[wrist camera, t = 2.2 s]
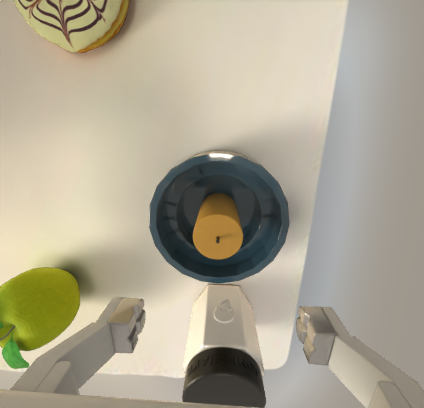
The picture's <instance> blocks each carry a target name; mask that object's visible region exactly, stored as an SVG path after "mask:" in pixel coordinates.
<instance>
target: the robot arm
mask: <svg viewBox="0 0 424 408" xmlns="http://www.w3.org/2000/svg"><path fill="white" fill-rule="evenodd" d="M143 306H144V300H143V299H138V298H125V297H124V298H122V297H114V298H113V299H112V300H111V301H110V303H109V304H108V306H107V307H106V309H105V310H104V311H103V313H102V314H101V316H100V317H99V318H98V320H97V321H96V323H91V324H90V325H88V326H87V327H85V328H83V329H82V330H80V331H79V332H77V333H76V334H74V335H73V336H71V337H69V338H68V339H66V340H65V341H63V342H62V343H60V344H58V345H57V346H55V347H54V348H52V349H51V350H49V351H48V352H46V353H44V354H43V355H41V356H40V357H38V358H37V359H36V360H35V361H34V362H33V364H32V365H31V366H30V367H29V368H28V369H27V371H26V372H25V373H24V374H23V375H22V376H21V378H20V379H19V380H18V381H17V382H16V383H15V385H14V386H13V387H12V388H11V389H10V390H0V408H258V407H243V406H229V405H215V404H201V403H186V402H172V401H158V400H143V399H129V398H115V397H101V396H85V395H80V394H79V391H78V389H79V388H80V387H81V386H82V385H83V384H84V383H85V382H86V381H87V380H89V378H91V377H92V376H93V375H94V374H95V373H96V372H97V371H98V370H99V369H100V368H101V367H102V366H103V365H104V364H105V363H106V362H107V361H108V360H109V359H110V358H111V357H112V356H113V355H114V354H115V353H133V351H134V348H135V346H136V344H137V341H138V336H137V335H138V334H139V333H141V332H142V329H143V327H144V323H145V311H144V310H143ZM298 313H299V315H300V317H299V318H298V319H297V322H296V329H297V334H298V337H299V340H300V341H301V342H302V343H303V344H304V347H303V350H304V353H305V355H306V358H307V360H308V363H309V364H317V365H328V367H329V368H330V370H331V371H332V372H333V373H334V374H335V375H336V376H337V377H338V378H339V379H340V380H341V381H342V383H343V384H344V385H345V386H346V387H347V388H348V389H349V390H350V391H351V392H352V393H353V394H354V395H355V397H357V399H358V400H359V401H360V402H361V403H362V404H363V405H364V406H365V407H366V408H424V390H423V389H422V387H421V386H420V385H419V384H418V382H416V381H415V380H414V379H412V378H411V377H409V376H408V375H407V374H405V373H404V372H402V371H401V370H400V369H399V368H397V367H396V366H394V365H393V364H391V363H390V362H389V361H387V360H386V359H385V358H383V357H382V356H381V355H379V354H378V353H376V352H375V351H373V350H372V349H371V348H369V347H368V346H366V345H365V344H364V343H362V342H361V341H360V340H358V339H357V338H356V337H353V336H351V335H350V334H349V332H348V331H347V330H346V328H345V326H344V325H343V323H342V322H341V321H340V319H339V318H338V316H337V315H336V313H335V312H334V310H333V309H332V308H331V307H309V306H300V307H299V310H298Z"/></svg>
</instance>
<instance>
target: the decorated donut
mask: <svg viewBox="0 0 424 408" xmlns="http://www.w3.org/2000/svg"><path fill="white" fill-rule="evenodd" d="M13 1H14V3H15V5H16V6H17V8H18V10H19V11H20V13H21V14H22V16H23V17H24V19H25V20H26V22H27V23H28V24H29V25H30V26H31V27H32V28H33V29H34V30H35V31H36V32H37V33H38V34H39V35H40V36H42V37H43V38H44V39H46V40H48V41H50V42H52V43H54V44H56V45H58V46H60V47H62V48H64V49H66V50H68V51H70V52H73V53H76V52H80V53H83V52H86V51H89V50H92V49H94V48H97V47H99V46H102V45H104V44H105V43H106V42H108V41H109V40H111V39H112V38H113V37H114V36H115V35H117V33H118V32H119V30H120V28H121V26H122V25H123V22H124V19H125V18H126V17H125V16H126V15H127V10H128V7H129V0H13Z"/></svg>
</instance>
